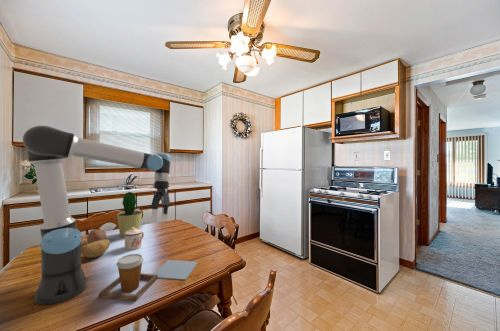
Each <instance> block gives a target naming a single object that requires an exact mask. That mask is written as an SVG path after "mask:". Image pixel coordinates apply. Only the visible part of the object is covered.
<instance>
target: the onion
mask: <svg viewBox="0 0 500 331" xmlns="http://www.w3.org/2000/svg"><path fill="white" fill-rule="evenodd" d="M106 238H107V234H106V232H105V231H104V230H103V229H96V228H93V229H92V230H90V231H89V233H88V234H87V237H86V240H87V242H88V244H89V243H92V242H95V241H99V240H103V239H106Z"/></svg>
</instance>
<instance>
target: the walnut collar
mask: <svg viewBox="0 0 500 331" xmlns="http://www.w3.org/2000/svg"><path fill="white" fill-rule="evenodd" d="M158 279H159V278H158V275H156V274H154V273H142V272H141V275H140V280H148V281H147V282H146V283H145V284H144V285H143V286H142V287H141V288H140V289H139V290H138V291H137V292H136V293H126V292H113V291H112V292H111V290H113V289H114V288H115V287H116V286H118V285H119V284H120V277H119V276H118V278H116V279H115V280H114V281H112V282H111V283H109V284H108V286H106V287H104V288H103V289H102V290H100V291H99V292H98V298H99V299H109V300H119V301H132V302H136V301H138V300H139V299H140V298H141V297H142V296H143V294H145V293H146V292H147V290H148V289H149V288H151V287H152V285H153V284H154V283H155V282H156V281H157V280H158Z"/></svg>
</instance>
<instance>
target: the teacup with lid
mask: <svg viewBox="0 0 500 331" xmlns="http://www.w3.org/2000/svg"><path fill="white" fill-rule="evenodd" d="M124 235H125V237H124V249H125V250H128V251H131V250H137V249H140V248H141V246H142V240H143V239H144V236H145V233H144V232H143V230H142V229H140V230H139V229H135V227H132V228H131V229H130V230H129V231H126V232H125V234H124Z"/></svg>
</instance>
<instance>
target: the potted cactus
mask: <svg viewBox="0 0 500 331" xmlns="http://www.w3.org/2000/svg"><path fill="white" fill-rule="evenodd" d="M121 199H122V201H121V203H120V204H122V206H123V211H122V212H118V213H117V214H116V218H117V224H118V230H119V235H120V238H125V235H124V234H125V232H126V231H129V230H130V229H131V228H132V227H135V229H139V230H141V223H142V218H143V211H141V210H135V209H136V205H137V202H138V201H137V200H138V199H137V197H136V195H135V193H134V191H132V192H131V191H128V192H126V193H124V194H123V196H122V198H121Z"/></svg>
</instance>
